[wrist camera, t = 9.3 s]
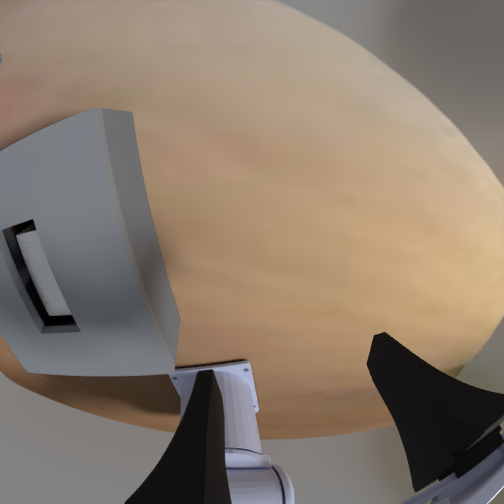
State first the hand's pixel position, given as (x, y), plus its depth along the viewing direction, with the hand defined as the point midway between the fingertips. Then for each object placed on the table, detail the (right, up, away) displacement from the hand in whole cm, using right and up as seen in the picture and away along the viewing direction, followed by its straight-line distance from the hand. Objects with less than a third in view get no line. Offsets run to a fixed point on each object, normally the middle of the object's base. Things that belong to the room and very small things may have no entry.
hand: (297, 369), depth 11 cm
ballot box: (-16, +6, +7) cm, 18 cm away
